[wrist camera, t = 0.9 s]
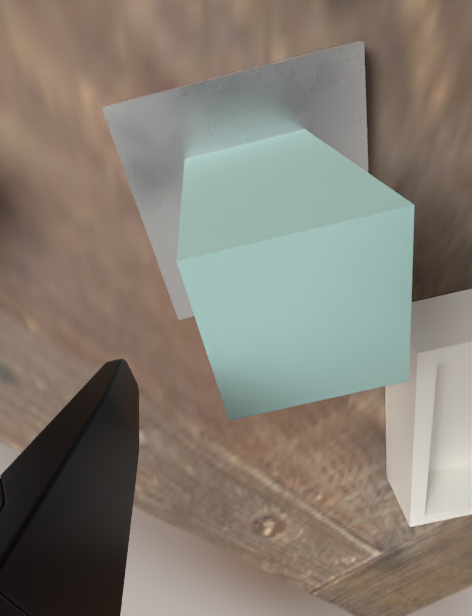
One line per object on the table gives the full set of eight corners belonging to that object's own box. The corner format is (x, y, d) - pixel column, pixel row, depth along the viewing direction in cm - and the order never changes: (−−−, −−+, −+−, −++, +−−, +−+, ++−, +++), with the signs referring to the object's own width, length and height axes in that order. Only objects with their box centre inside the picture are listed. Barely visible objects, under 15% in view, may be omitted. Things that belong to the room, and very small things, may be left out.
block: (305, 129, 16) (414, 205, 8) (317, 241, 19) (408, 381, 11) (184, 159, 16) (176, 261, 8) (214, 265, 19) (229, 420, 11)
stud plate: (354, 40, 16) (392, 38, 13) (364, 266, 21) (392, 301, 18) (106, 104, 16) (86, 116, 13) (179, 309, 21) (176, 350, 18)
